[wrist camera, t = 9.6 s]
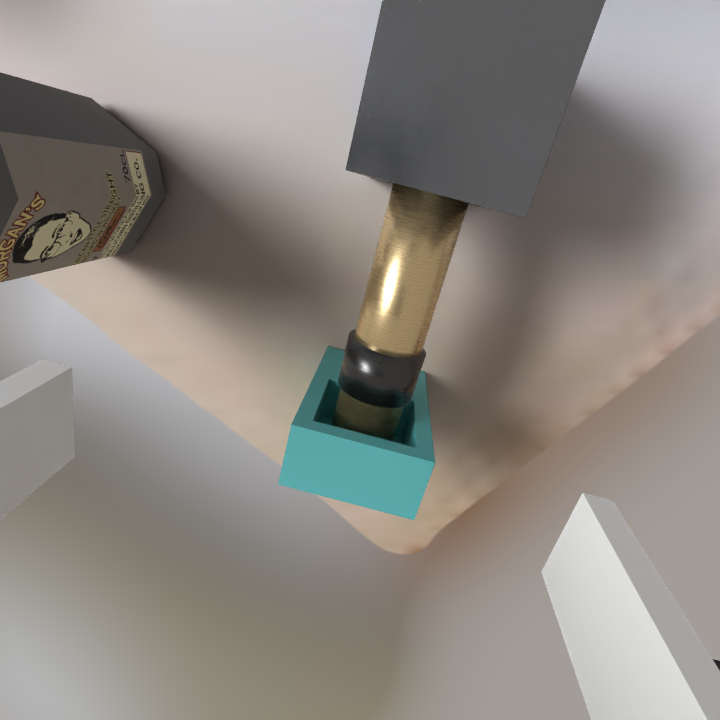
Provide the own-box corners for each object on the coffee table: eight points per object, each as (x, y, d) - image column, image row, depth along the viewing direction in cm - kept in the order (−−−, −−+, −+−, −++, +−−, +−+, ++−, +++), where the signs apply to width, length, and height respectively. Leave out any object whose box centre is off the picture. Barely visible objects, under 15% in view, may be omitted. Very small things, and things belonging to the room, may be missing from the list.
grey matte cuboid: (402, 26, 29) (401, -88, 17) (528, 60, 29) (616, -29, 17) (367, 176, 32) (345, 169, 20) (480, 206, 32) (525, 217, 20)
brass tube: (398, 143, 25) (398, 134, 21) (480, 165, 25) (495, 160, 21) (329, 417, 31) (317, 453, 27) (394, 434, 31) (393, 473, 27)
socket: (328, 346, 37) (291, 424, 25) (424, 371, 37) (435, 462, 25) (318, 389, 38) (278, 484, 26) (410, 414, 38) (414, 520, 26)
